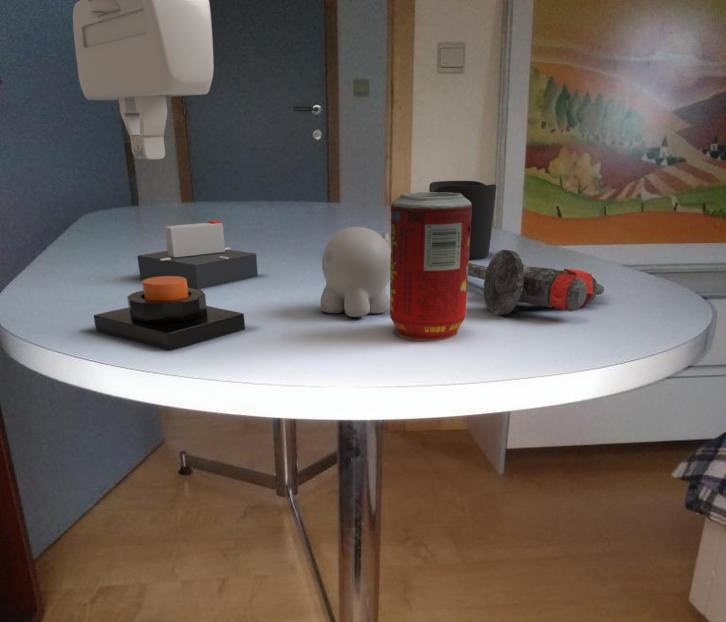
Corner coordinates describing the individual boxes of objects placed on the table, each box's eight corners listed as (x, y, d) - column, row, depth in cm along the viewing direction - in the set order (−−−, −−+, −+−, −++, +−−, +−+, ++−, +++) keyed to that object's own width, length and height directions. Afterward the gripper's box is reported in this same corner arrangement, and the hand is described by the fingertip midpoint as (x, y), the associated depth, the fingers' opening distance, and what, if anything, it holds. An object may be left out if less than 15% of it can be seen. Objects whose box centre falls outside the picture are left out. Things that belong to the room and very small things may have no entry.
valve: (649, 334, 74) (524, 326, 68) (516, 295, 96) (414, 286, 90) (666, 270, 71) (538, 256, 66) (525, 245, 94) (421, 233, 88)
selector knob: (173, 257, 88) (169, 225, 87) (167, 256, 89) (163, 224, 88) (225, 252, 92) (222, 221, 90) (218, 250, 93) (216, 219, 92)
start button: (135, 300, 67) (133, 281, 66) (170, 292, 70) (167, 274, 69) (163, 306, 65) (160, 286, 64) (197, 298, 68) (195, 279, 67)
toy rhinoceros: (437, 305, 78) (440, 222, 74) (355, 325, 71) (354, 234, 67) (390, 295, 83) (390, 217, 79) (309, 312, 75) (305, 227, 72)
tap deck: (136, 280, 91) (132, 254, 90) (204, 267, 99) (201, 243, 98) (194, 291, 85) (191, 264, 84) (261, 276, 93) (260, 251, 92)
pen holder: (498, 253, 108) (504, 181, 104) (480, 263, 101) (485, 186, 96) (439, 249, 112) (442, 180, 107) (417, 259, 104) (419, 184, 100)
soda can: (480, 337, 66) (489, 194, 61) (414, 348, 63) (417, 199, 58) (438, 321, 72) (443, 189, 66) (376, 330, 69) (375, 193, 64)
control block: (96, 332, 69) (89, 295, 67) (171, 314, 75) (167, 280, 73) (170, 352, 63) (165, 312, 61) (245, 331, 69) (242, 294, 67)
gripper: (43, -22, 62) (74, 156, 68) (133, -67, 47) (161, 164, 53) (116, -15, 65) (138, 154, 71) (220, -55, 50) (237, 161, 57)
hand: (149, 158), depth 62 cm, fingers closed
